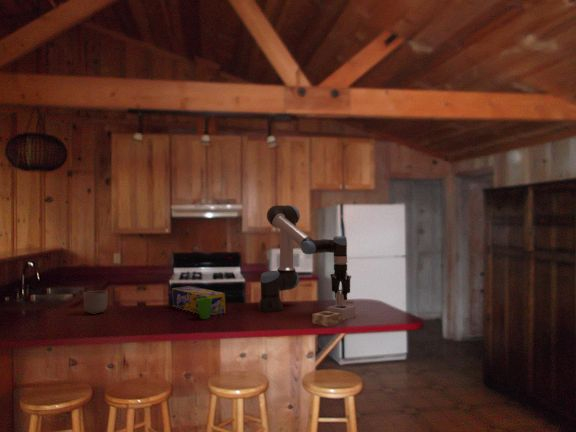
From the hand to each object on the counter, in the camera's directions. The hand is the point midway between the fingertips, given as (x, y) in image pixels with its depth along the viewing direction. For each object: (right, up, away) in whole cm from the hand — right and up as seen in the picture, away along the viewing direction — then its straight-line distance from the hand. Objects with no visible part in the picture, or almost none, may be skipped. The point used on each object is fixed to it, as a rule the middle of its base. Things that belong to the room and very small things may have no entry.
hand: (341, 304), depth 253 cm
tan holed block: (0, -7, 0) cm, 7 cm away
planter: (-148, -10, +21) cm, 150 cm away
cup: (-78, -9, +2) cm, 78 cm away
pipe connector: (+5, -7, +20) cm, 22 cm away
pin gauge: (0, -6, 0) cm, 6 cm away
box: (-86, -9, +26) cm, 91 cm away
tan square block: (-9, -7, -13) cm, 17 cm away
